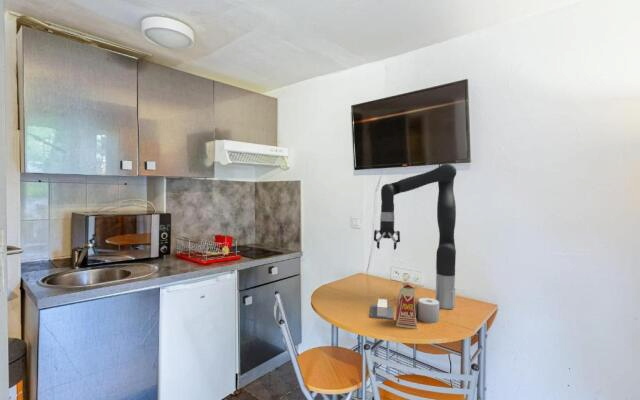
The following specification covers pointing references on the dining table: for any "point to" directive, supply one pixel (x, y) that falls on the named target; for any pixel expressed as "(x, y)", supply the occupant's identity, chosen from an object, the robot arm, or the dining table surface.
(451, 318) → the dining table surface
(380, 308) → the block
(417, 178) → the robot arm
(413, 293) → the milk carton
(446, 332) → the dining table surface
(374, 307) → the mat
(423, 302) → the toilet tissue
